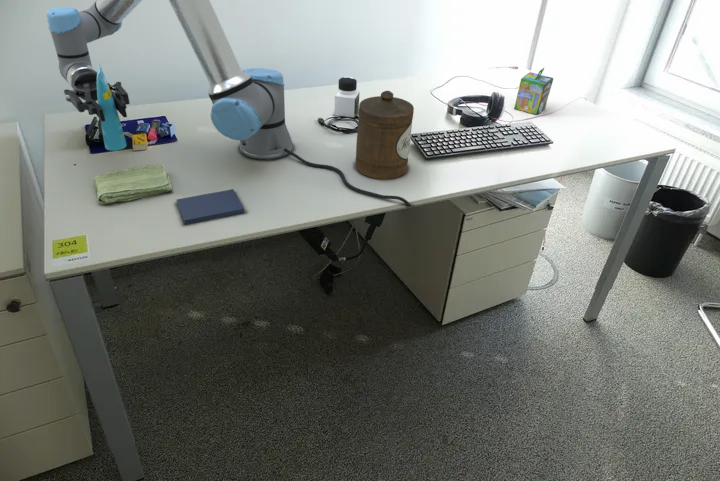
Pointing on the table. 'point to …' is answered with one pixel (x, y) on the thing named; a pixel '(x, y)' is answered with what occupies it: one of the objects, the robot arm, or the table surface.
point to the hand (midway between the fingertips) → (113, 113)
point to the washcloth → (131, 184)
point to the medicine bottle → (347, 98)
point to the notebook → (209, 206)
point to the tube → (109, 116)
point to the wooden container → (383, 136)
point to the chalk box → (533, 93)
